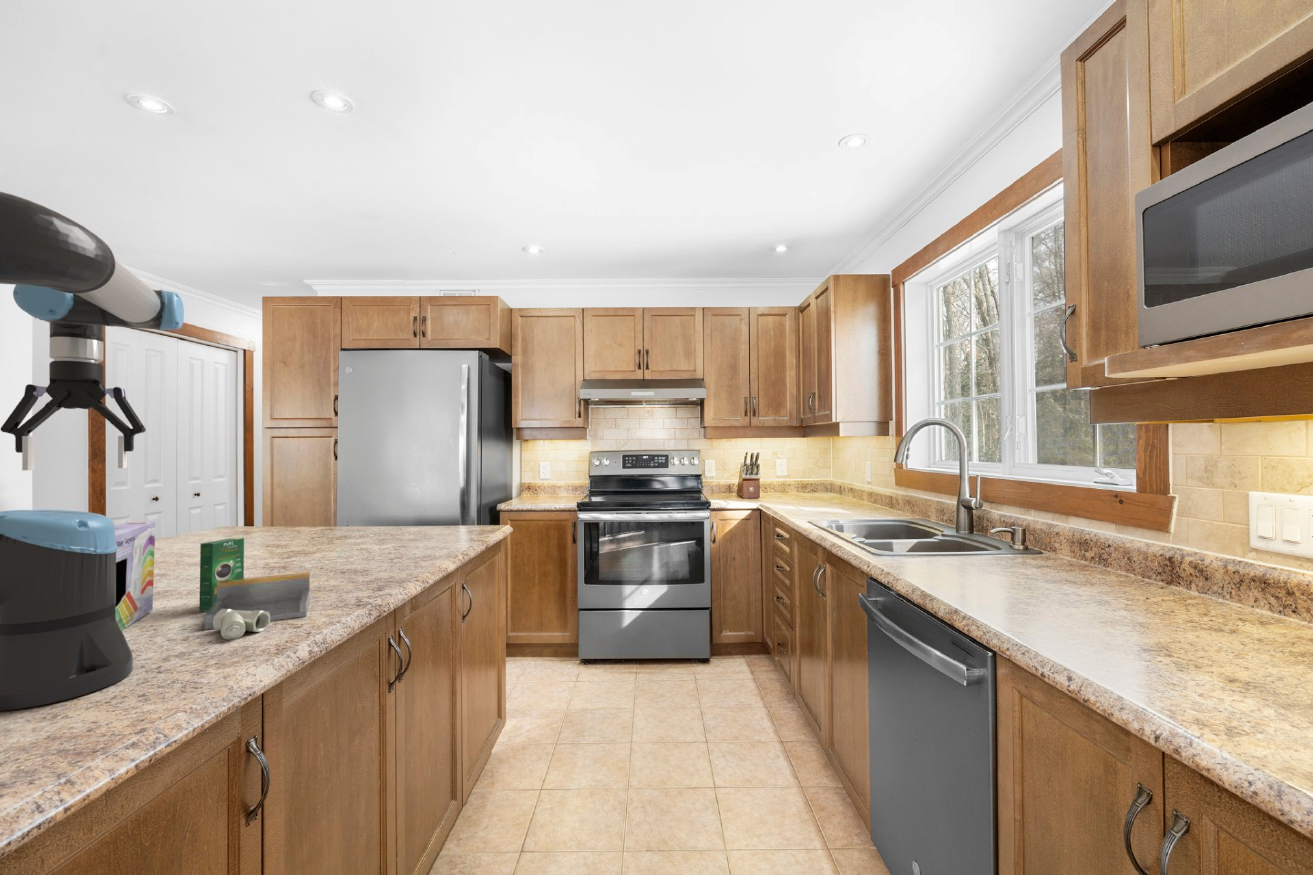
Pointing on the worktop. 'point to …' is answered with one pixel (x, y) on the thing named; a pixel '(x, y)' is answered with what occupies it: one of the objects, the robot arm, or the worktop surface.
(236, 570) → the coffee box
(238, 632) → the pipe fitting
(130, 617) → the cake pan box
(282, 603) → the grey tray
